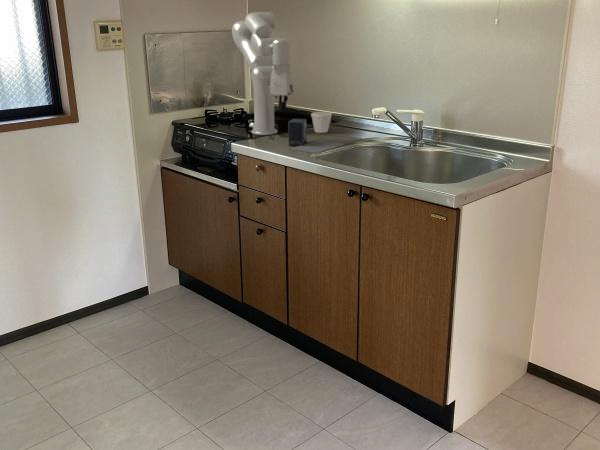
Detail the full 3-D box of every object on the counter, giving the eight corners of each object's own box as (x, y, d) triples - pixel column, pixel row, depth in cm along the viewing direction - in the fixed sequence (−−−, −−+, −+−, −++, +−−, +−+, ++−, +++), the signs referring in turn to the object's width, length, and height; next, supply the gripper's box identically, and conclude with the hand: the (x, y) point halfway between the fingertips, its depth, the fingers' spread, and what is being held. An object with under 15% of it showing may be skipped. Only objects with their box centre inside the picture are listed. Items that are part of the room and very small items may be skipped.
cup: (331, 134, 300) (332, 115, 297) (311, 134, 300) (311, 115, 297) (331, 130, 309) (331, 111, 306) (310, 130, 309) (311, 111, 306)
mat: (289, 149, 269) (289, 148, 269) (319, 140, 285) (319, 140, 285) (316, 153, 261) (316, 153, 261) (345, 144, 278) (345, 144, 277)
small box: (302, 145, 274) (302, 121, 271) (288, 145, 275) (287, 121, 272) (307, 141, 284) (306, 118, 280) (293, 141, 285) (292, 118, 282)
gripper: (263, 68, 275) (264, 110, 281) (289, 69, 266) (290, 113, 272) (274, 67, 281) (274, 108, 287) (300, 68, 272) (300, 111, 278)
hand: (282, 110), depth 279 cm, fingers closed
